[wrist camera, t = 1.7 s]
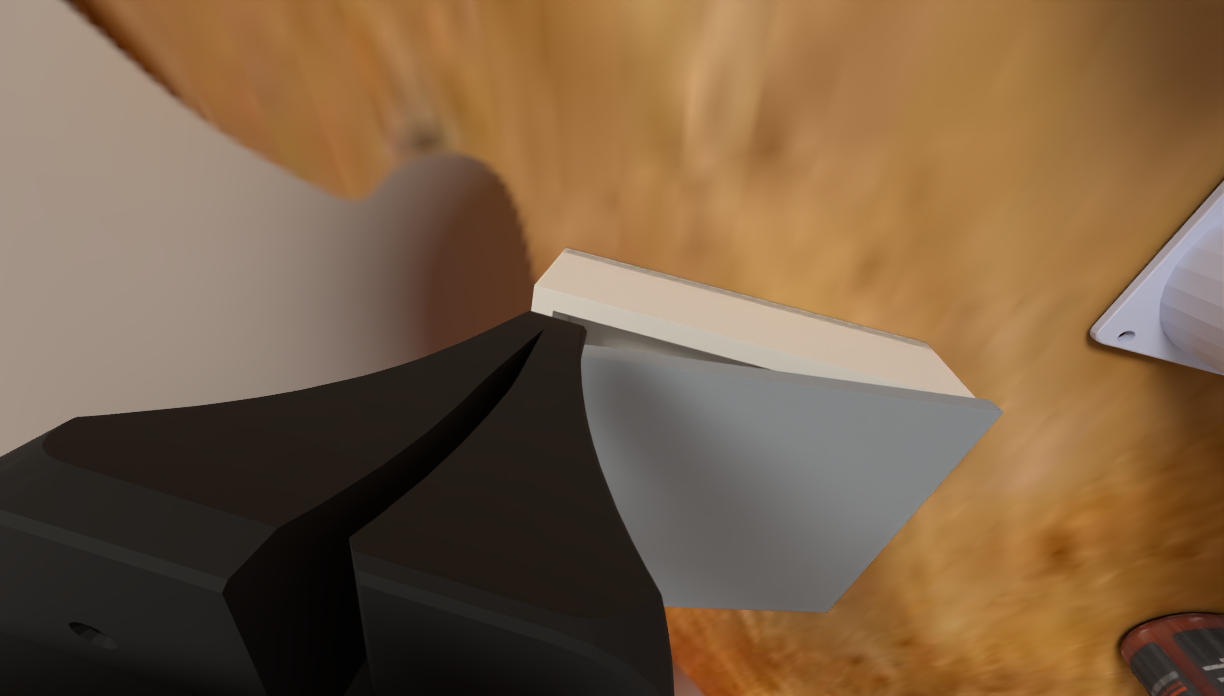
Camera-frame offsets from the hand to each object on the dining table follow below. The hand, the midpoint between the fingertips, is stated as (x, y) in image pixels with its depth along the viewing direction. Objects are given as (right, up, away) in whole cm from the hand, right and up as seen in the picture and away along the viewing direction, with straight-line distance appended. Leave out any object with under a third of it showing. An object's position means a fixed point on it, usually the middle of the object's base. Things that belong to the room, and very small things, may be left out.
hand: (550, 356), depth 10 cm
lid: (+5, -6, +7) cm, 10 cm away
